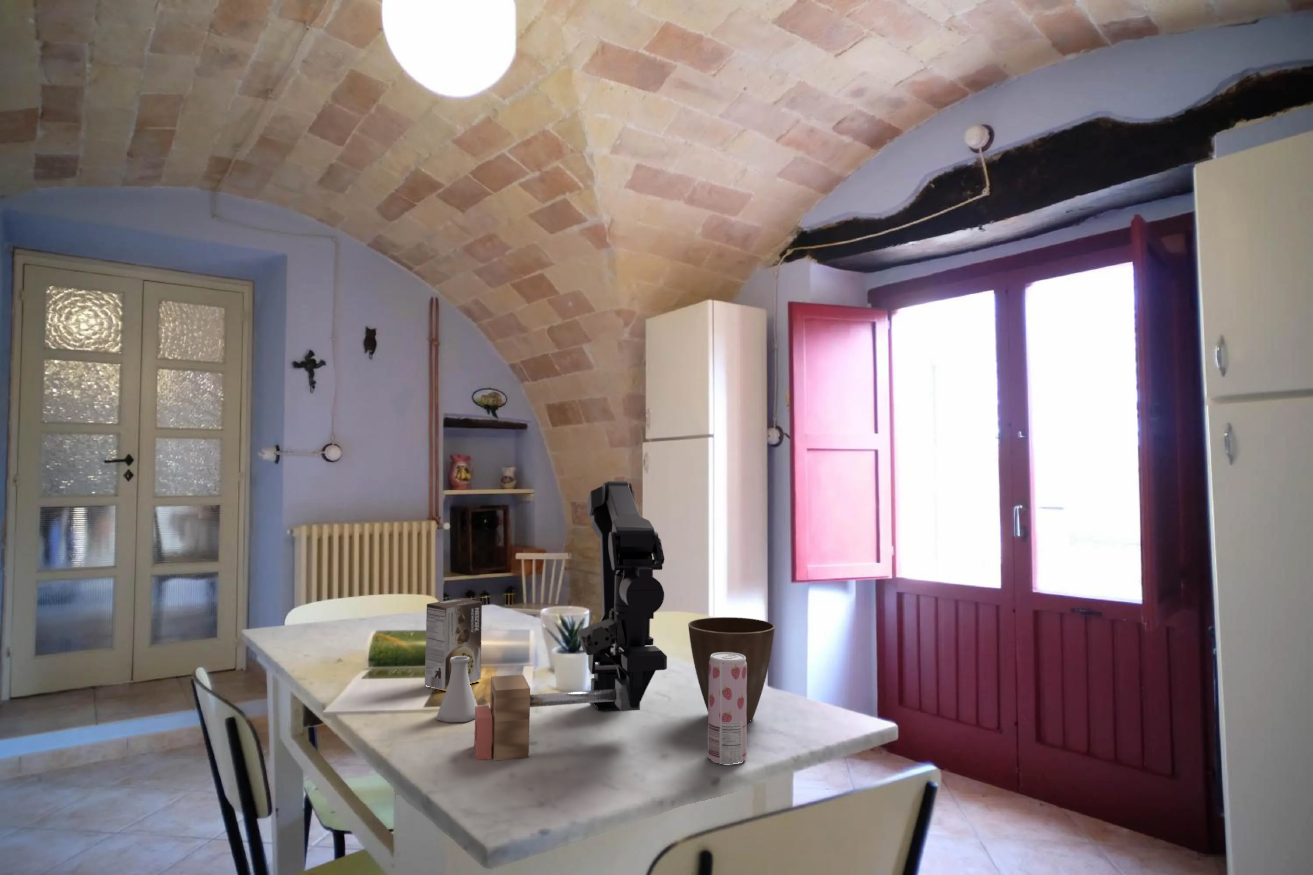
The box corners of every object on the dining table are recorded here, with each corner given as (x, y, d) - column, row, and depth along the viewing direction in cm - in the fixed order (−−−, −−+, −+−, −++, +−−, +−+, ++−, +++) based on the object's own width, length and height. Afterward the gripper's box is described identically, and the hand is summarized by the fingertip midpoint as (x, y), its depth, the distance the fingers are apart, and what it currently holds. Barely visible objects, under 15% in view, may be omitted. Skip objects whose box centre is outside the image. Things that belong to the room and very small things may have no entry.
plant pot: (675, 725, 130) (676, 628, 131) (701, 701, 144) (702, 613, 144) (763, 736, 125) (764, 635, 125) (781, 710, 139) (782, 620, 139)
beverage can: (748, 753, 117) (749, 652, 117) (743, 767, 111) (744, 661, 112) (710, 750, 118) (711, 650, 119) (704, 763, 112) (705, 658, 113)
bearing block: (521, 739, 122) (523, 674, 122) (528, 757, 114) (530, 688, 115) (489, 741, 120) (490, 676, 121) (494, 760, 113) (495, 690, 113)
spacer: (487, 744, 119) (488, 705, 119) (491, 758, 113) (492, 716, 114) (474, 745, 119) (475, 706, 119) (477, 759, 113) (478, 717, 113)
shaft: (633, 702, 125) (633, 677, 125) (639, 709, 121) (640, 683, 122) (510, 711, 119) (511, 685, 120) (513, 719, 116) (514, 692, 116)
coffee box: (460, 677, 158) (462, 597, 159) (481, 682, 154) (483, 600, 155) (422, 686, 151) (425, 602, 151) (444, 692, 147) (447, 606, 148)
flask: (468, 725, 128) (470, 664, 129) (428, 721, 130) (429, 661, 130) (486, 712, 135) (488, 654, 136) (448, 709, 137) (449, 651, 137)
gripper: (571, 596, 130) (569, 690, 130) (595, 616, 112) (593, 725, 112) (635, 594, 134) (633, 686, 133) (668, 613, 116) (667, 719, 115)
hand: (630, 703), depth 123 cm, fingers closed on shaft, 4 cm apart
